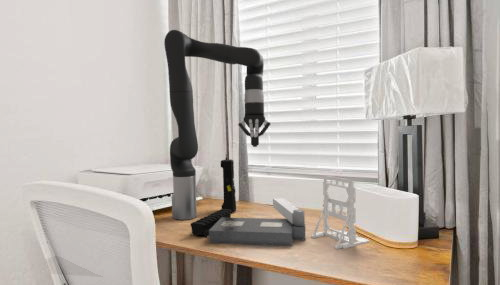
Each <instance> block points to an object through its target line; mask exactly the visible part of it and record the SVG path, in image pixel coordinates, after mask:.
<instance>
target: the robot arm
mask: <svg viewBox="0 0 500 285" xmlns="http://www.w3.org/2000/svg"><path fill="white" fill-rule="evenodd" d="M163 42H164V43H163V44H164V49H165V56H166V62H167V70H168V84H169V85H168V86H169V87H168V88H169V92H168V93H169V103H170V108H171V111H172V113H173V115H174V118H175V121H176V123H177V131H178V133H177V134H178V135H177V137H175V138H174V139H173V140H172V141H171V142H170V146H169V156H170V157H169V159H170V169H171V171H172V186H173V191H172V192H173V194H172V195H171V216H172V219H175V220H180V221H181V220H182V221H184V220H192V219H196V218H197V217H198V216H197V215H198V214H197V213H198V211H197V175H196V168H195V167H194V166H193V163H192V160H193V159H194V158H196V156H197V154H198V151H199V142H198V137H197V130H196V125H195V111H194V110H195V109H194V108H195V107H194V93H193V92H194V91H193V85H192V82H191V79H190V78H191V77H190V76H189V73H188V70H187V66H186V58H187V57H190V58H191V57H192V58H201V59H206V60H210V61H213V62H214V61H215V62H219V63H222V64H223V63H224V64H229V65H240V66H244V67H246V76H245V77H244V78H245V79H244V95H243V96H244V97H243V98H244V99H243V101H244V102H243V104H244V117H243V118H242V119H243V120H242V121H241V122H239V123H238V127H239V128H240V129H241V131H242V132H243V133H244V134H245V135H246V136H248V137H250V144H251V146H252V147H253V148H257V147H258V146H259V144H260V137H261V136H264V134H265V133H266V131H267V130H268V129H269V127H270V126H271V122H270V121H268V120H266V116H265V98H264V82H263V76H264V65H265V64H264V57H263V55H262V54H261V53H260V51H259V50H258V49H256V48H253V47H245V46H235V45H230V44H225V43H218V42H203V41H199V40H196V39H194V38H191V37H190V36H188V35H187V34H185V33H184V32H182V31H181V30H177V29H172V30H169V31H168V32H167V33H166V35H165V37H164V41H163ZM246 126H247V127H248V128H249V130H248V129H247V127H246ZM262 126H263V128H262ZM260 128H262V129H261V130H260Z"/></svg>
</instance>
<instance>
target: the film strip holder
mask: <svg viewBox="0 0 500 285" xmlns="http://www.w3.org/2000/svg"><path fill="white" fill-rule="evenodd" d="M328 180H330V182H328ZM333 181H335V183H333ZM339 182H341V183H342V184H341V185H340V184H339ZM345 183H347V185H345ZM354 184H355V182H354V179H348V178H342V177H337V176H330V175H326V174H324V175H323V181H322V192H323V193H322V194H323V203H322V210H321V213H320V216H319V218H318V221H317V224H316V226H315V228H314V232H313V234H311V235H310V238H311V239H317V238H321V237H324V236H326V237H329V238H331V239H334V240H335V241H338V242H337V244H335V245H334V249H335V250H339V249H344V250H346V249H349V248H355V246H359V245H365V244H368V243H370V242H371V241H370V239H367V238H365V237H362V236H361V237H360V236H359V235H358V234H357V232H356V231H357V229H356V227H355V223H356V222H357V220H356V218H357V216H356V207H355V203H356V187H354V186H355V185H354ZM329 186H333V187H338V188H342V189H345V190H346V193H347V196H348V197H347V199H346V201H344V200H341V199H336V198H331V197H330V196H329V192H328V189H329ZM329 204H331V209H329ZM336 205H337V206H338V207H339V208H338V209H339V210H338V212H337V210H336ZM344 208H346V214H344V211H343V210H344ZM323 214H324V215H323ZM323 216H324V217H323ZM330 216H331V217H334V218H336V219H339V220H342V221H345V222H344V225H343V227H342V229H339V230H337V229H333V228H331V227H330V225H329V222H328V220H329V217H330ZM322 217H323V231H318V230H319V226H320V223H321V221H322ZM346 227H348V229H347V231H346Z"/></svg>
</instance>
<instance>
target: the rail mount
mask: <svg viewBox="0 0 500 285" xmlns="http://www.w3.org/2000/svg"><path fill="white" fill-rule="evenodd" d="M231 212H232V211H231V210H229V209H222V208H221V209H218V210H217V211H214V212H213V213H210V214H208V215H206V216H203V217H202V218H201V217H200V219H197V220H195V221H192V222H191V223H190V227H191V234H192V236H196V235H199V236H203V235H204V238H207V237H209V230H210V229H211V228H212V227H213V226H214V225H215V224H216V223H217V222H218V220H219V219H220V218H221V217H224V218H232V217H231V216H232V215H231V214H232V213H231Z"/></svg>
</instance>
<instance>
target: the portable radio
mask: <svg viewBox="0 0 500 285" xmlns="http://www.w3.org/2000/svg"><path fill="white" fill-rule="evenodd" d="M227 155H228V154H227V153H226V154H225V159H222V160H220V168H222V179H223V180H222V182H223V188H222V190H223V202H222V204H221V209H229V210H231V211H232V212H236V211H237V203H236V187H235V169H234V168H235V166H234V162H235V161H234V160H233V159H228V156H227Z"/></svg>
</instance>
